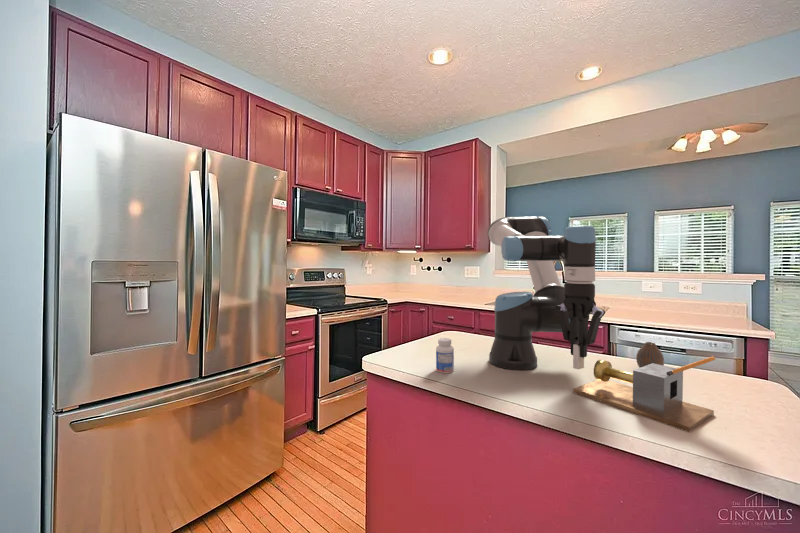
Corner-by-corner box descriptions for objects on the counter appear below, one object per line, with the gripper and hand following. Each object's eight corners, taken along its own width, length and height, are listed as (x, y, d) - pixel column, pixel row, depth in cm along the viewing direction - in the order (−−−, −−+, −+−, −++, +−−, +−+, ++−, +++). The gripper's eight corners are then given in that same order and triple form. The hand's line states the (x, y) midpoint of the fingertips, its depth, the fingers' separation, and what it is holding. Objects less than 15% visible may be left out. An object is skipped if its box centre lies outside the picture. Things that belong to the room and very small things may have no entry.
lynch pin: (593, 381, 88) (593, 361, 88) (604, 377, 91) (604, 358, 91) (647, 397, 78) (647, 374, 78) (657, 392, 81) (657, 370, 81)
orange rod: (673, 374, 74) (671, 370, 75) (681, 370, 77) (679, 367, 77) (711, 361, 69) (709, 358, 69) (719, 357, 71) (716, 354, 72)
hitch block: (573, 392, 88) (573, 354, 88) (601, 381, 96) (602, 346, 96) (688, 432, 68) (689, 382, 68) (713, 414, 76) (714, 370, 75)
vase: (639, 373, 103) (640, 344, 103) (633, 366, 110) (634, 339, 109) (667, 376, 101) (667, 346, 100) (659, 369, 107) (660, 341, 107)
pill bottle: (439, 367, 109) (440, 336, 109) (456, 369, 107) (456, 338, 107) (433, 372, 104) (433, 340, 104) (450, 374, 102) (450, 342, 102)
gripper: (549, 281, 97) (548, 364, 98) (596, 284, 86) (595, 377, 87) (565, 280, 101) (564, 359, 102) (611, 283, 90) (610, 372, 91)
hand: (578, 367), depth 94 cm, fingers closed
